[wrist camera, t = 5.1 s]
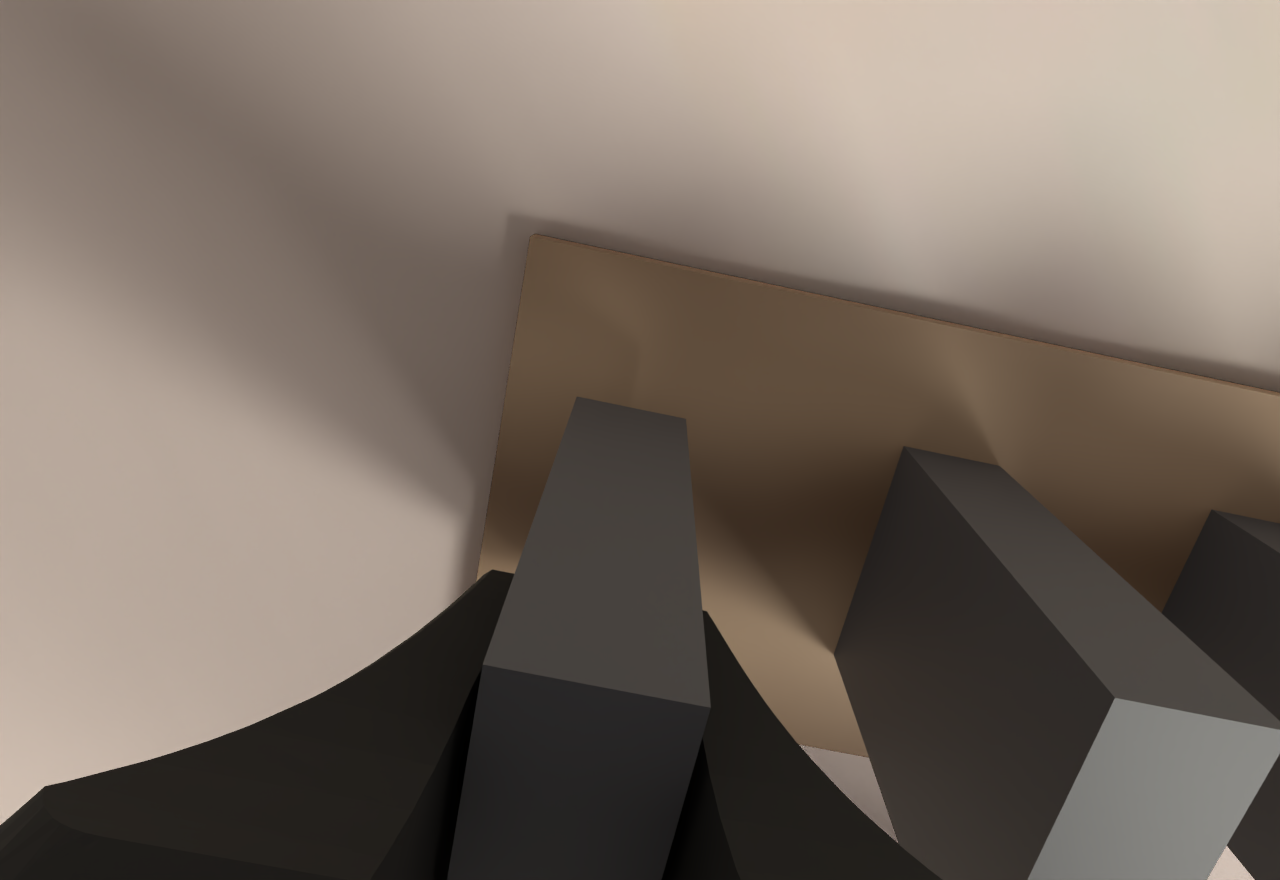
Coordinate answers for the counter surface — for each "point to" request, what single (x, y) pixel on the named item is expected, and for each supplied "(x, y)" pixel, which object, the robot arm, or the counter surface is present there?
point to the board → (855, 442)
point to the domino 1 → (592, 667)
